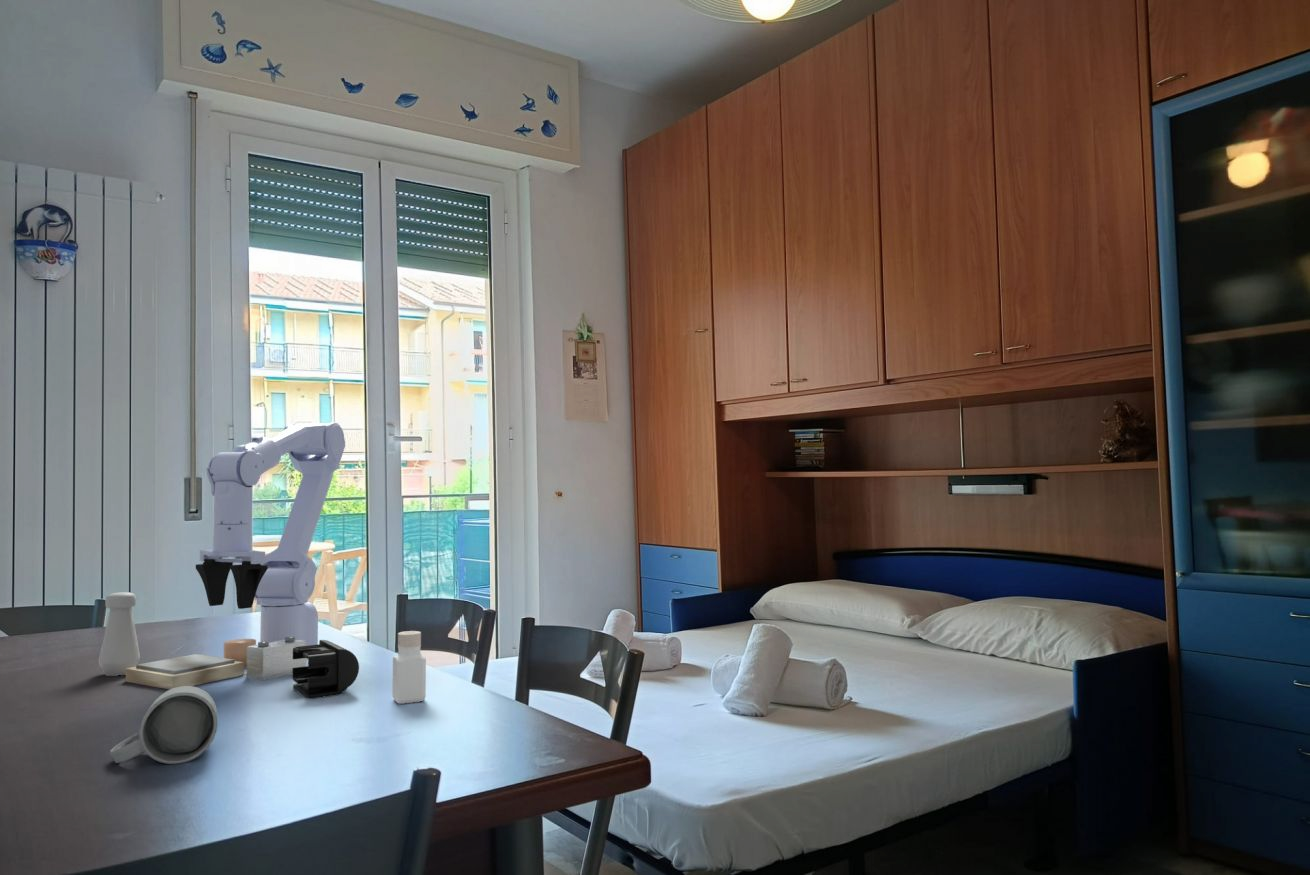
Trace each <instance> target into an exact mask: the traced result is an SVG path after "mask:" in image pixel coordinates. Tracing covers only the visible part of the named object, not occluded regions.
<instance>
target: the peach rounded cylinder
mask: <svg viewBox="0 0 1310 875" xmlns="http://www.w3.org/2000/svg"><path fill="white" fill-rule="evenodd" d="M253 645H257V639H253V638H236V639H230V640H226V641H223V656H222V658H227V659H234V660H235V661H239V662H244V668H247V646H253Z"/></svg>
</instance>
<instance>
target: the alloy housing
mask: <svg viewBox="0 0 1310 875" xmlns="http://www.w3.org/2000/svg"><path fill="white" fill-rule="evenodd" d="M299 646H306V641H303V640H295V637H285V640H280V641H275V642H268V641H263V642H260V641H258V642H257V644H256V645H253V646H247V667H246V678H247V679H255V680H259V681H265V680H270V679H275V678H279V677H284V676H289V675H292V668H294V667H303V666H307V664H306V659H307V658H302V659H293V648H295V647H299Z"/></svg>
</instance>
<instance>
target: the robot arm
mask: <svg viewBox="0 0 1310 875" xmlns="http://www.w3.org/2000/svg"><path fill="white" fill-rule="evenodd" d="M250 440H251V441H249V442H247V443H245V444H238V445H236V446H235V448H234V449H233V450H231V451H225V452H223V451H222V452H221V451H220V452H218V453H216V455H214V456H213V457H212V458H211V459H210V461H209V463H208V467H206V475H207V479H208V481H209V483H210V493H211V495H212V496H213V498H214V501H213V502H214V505H213V529H212V530H213V535H212V536H213V537H212V548H210V549H199V562H202V563H200V564H199V563H198V564H197V563H196V564H195V570H196V572H197V573H198V575H199V576H200V578H201V581H202V583H203V586H204V588H205V592H206V596H207V597H206V598H207V602H208V606H210V607H214V606H215V607H216V606H223V605H224V602H225V598H226V597H225V595H226V587H227V582H228V578H229V574H230V571H231V573H232V576H233V579H234V583H235V592H236V593H235V595H236V606H237V609H241V610H243V609H252V607H253V604H254V600H255V601H256V605H260V636H259V637H260V638H259V640H260V641H259V642H263V641H268V642H275V641H280V640H285V637H295V640H303V641H306V646H308V645H318V644H319V642H318V641H319V640H318V639H319V638H318V636H319V614H318V611H317V608H316V606H315V605H314V604H313V602H311V601H309V599H310V598H311V597H312V594H313V593H314V591H315V588H316V587H315V585H316V574H317V569H318V568H317V565H316V563H315V562H314V560H313V559H312V558H311V557H310V556H309V555H308V553H309V550H310V547H311V544H312V541H313V538H314V535H315V532H316V528H317V526H318V523H319V520H320V517H321V514H322V511H323V508H324V505H325V501H326V498H327V495H328V492H329V489H330V487H331V484H332V480H333V476H334V473H335V471H337V470H338V469H339V467H340V466H339V465H340V463H341V460H342V457H343V453H344V451H345V449H346V448H345V447H346V440H345V433H344V430H343V428H342V427H341V425H340V424H339V423H338V422H335V421H334V422H333V421H332V422H330V423H327V422H326V423H297V422H293V423H289V424H288V425H285V426H284V427H283V430H282V431H280V432H279V433H277V434H276V435H274V436H273V437H271V438H269V437H265V436H263V435H255V436H252V437H251V438H250ZM286 454H288V457H289V459H290V461H291V463H292V466H293V468H294V470H296V471H297V472H299V473H300V474H302V478H301V479H300V480H301V481H300V484H299V485H298V489H297V492H296V494H295V497H294V500H293V504H292V505H291V509H290V512H289V514H288V517H287V520H286V523H285V526H284V529H283V532H282V535H281V537H280V541H279V542H278V546H277V548H276V549H274V550H273V551H271V552H269V553H267V554H266V551H261V550H253V549H252V527H253V526H252V523H253V522H252V521H253V489H254V488H253V486H256V485H257V484H258V482H259V481H260V479H261V476H262V475H263V474H264V473H265V472H268V471H270V470H271V469H273V468H275V467H277V465H278V464H279V463H280V461H281V458H282V456H284V455H286ZM229 557H230V558H229ZM234 563H240V564H234Z"/></svg>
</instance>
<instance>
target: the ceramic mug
mask: <svg viewBox="0 0 1310 875" xmlns="http://www.w3.org/2000/svg"><path fill="white" fill-rule="evenodd" d="M217 730H218V709H217V706H216V703H215V701H214V699H213V697H212V696H211V695H210V694H209V693H208V692H207V691H205V690H204V689H201V688H199V687H196V686H181V687H176V688H173V689H167V691H165V692H163V693H162V694H161V695H159V696H158V697H157V698H156V699H155V700H154V702H153V703H152V704H151V706H150V707H149V708H148V710H147V711H146V712H145V714H144V716H143V718H142V720H141V723H140V727H139V731H138V732H137V733H135V734H133V735H131V736H129V737H128V738H126V739H124V740H122V741H121V742H119V743H118V744H116V745H114V746H113V748H111V750H109V752H110V756H111V757H112V760H113V761H114V762H113V763H115V764H120V763H124V762H127V761H130V760H132V759H134V758H135V757H138V756H140V755H142V754H144V753H146V755H147V756H148V757H150V758H151V759H152V760H154V761H156V762H159V763H162V764H167V765H179V764H184V763H189V762H190V761H193V760H195V759H196V758H198V757H199V756H201V755H202V754H204V753H205V751H207V749H208V748H209V747H210V746H211V745H212V743H213V741H214V739H215V736H216V733H217Z"/></svg>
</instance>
